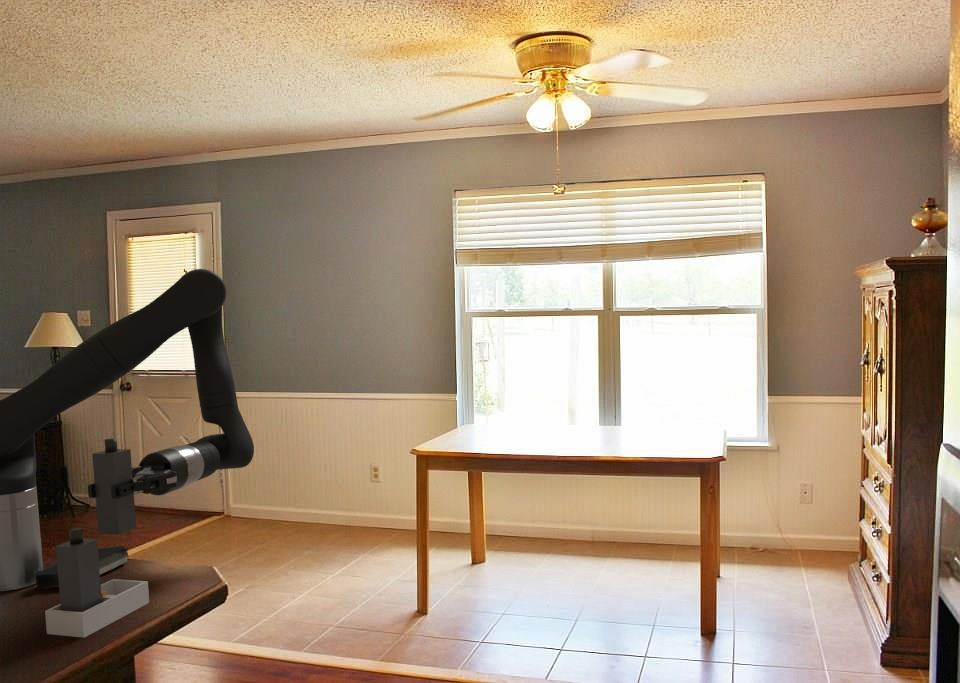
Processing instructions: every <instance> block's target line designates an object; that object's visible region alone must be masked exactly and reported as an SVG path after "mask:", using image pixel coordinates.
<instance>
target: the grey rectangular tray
mask: <svg viewBox="0 0 960 683" xmlns="http://www.w3.org/2000/svg"><path fill="white" fill-rule="evenodd" d="M149 593H150V592H149V581H145V580H135V579H134V580H132V579H121V578H120V579H119V578H112V579H110V580H108V581H106V582H103V583H102V584H101V595H102V603H100V604H98V605H96V606H94V607H92V608H90V609H88V610H86V611H84V612H73V611H61V603H59V604H57V605H55V606H53V607H50V608H48V609H46V610H45V611H44V613H45V614H44V615H45V627H46V635H54V636H63V637H64V636H65V637H75V638H83V639H84V638H86V637H88V636H90V635H92V634H94V633H95V632H98V631H99V630H101V629H102V628H105V627H107V626H108V625H111V624H113V623H114V622H116V621H118V620H120V619H122V618H124V617H125V616H127V615H129V614H131V613H133V612H134V611H137V610H138V609H141V608H142V607H144V606H146V605H147V604H149V603H150V595H149Z"/></svg>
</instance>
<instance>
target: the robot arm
mask: <svg viewBox="0 0 960 683" xmlns="http://www.w3.org/2000/svg"><path fill="white" fill-rule="evenodd" d="M226 298H227V287H226V284H225V282H224V280H223V279H222V277H221V276H220V275H219V274H217V273H216V272H214V271H212V270H209V269H206V268H197V269H196V268H195V269H192V270H189V271H187V272H185V273H184V274H183V275H182V276H181V277H180V278H179V279H178V280H177V281H175V282H174V284H172V285H171V286H170V287H168V289H166V290H165V291H163V293H161V294H160V295H159V296H158V297H156V298H155V299H154V300H153V301H151V302H149V303H148V304H146V305H145V306H143V307H142V308H140V309H138V310H136V311H134V312H132V313H130V314H128V315H126V316H124V317H122V318H120V319H119V320H117V321H115V322H113V323H111V324H108V326H106V327H104V328H102V329H100V330H98V331H97V332H96V333H94V334H93V335H92V336H90V337H88V338H87V339H85V340H83V341H82V342H80V343H79V344H78V345H76V346H75V347H73V349H71V350H70V351H69V352H67V353H66V354H65V355H63V356H62V357H61V358H59V359H58V360H57V361H56V362H55V363H53V364H52V365H51V366H50V367H49V368H48V369H46V370H45V371H44V372H43V373H42V374H41V375H39V377H37V378H36V379H35V380H33V381H32V382H30V383H28V384H27V385H26V386H24V387H22V388H20V389H19V390H17V391H15V392H13V393H12V394H10V395H8V396H6V397H4V398H2V399H0V592H6V591H7V592H8V591H14V590H19V589H23V588H26V587H27V588H28V587H30V586H32V585H35V584H36V576H35V573H37V572H40V571H42V570H44V564H43V563H44V562H43V553H42V552H43V550H42V538H41V527H40V515H39V502H38V492H37V490H38V489H37V478H36V477H37V476H36V475H37V453H36V439H35V434H36V433H37V432H38V431H40V430H41V429H42V428H43V427H44V426H46V425H47V424H49V422H51V421H52V420H54V419H55V418H56V417H57V416H59V415H61V414H62V413H63V412H66V411H67V410H68V409H70V408H73V407H75V406H76V405H79V404H80V403H82V402H83V401H86V400H87V399H89V398H92V397H93V396H94V395H96V394H98V393H99V392H101V391H103V390H104V389H106V388H107V387H110V386H111V385H112V384H114V383H115V382H117V381H119V379H121V378H123V377H124V376H125V375H127V374H128V373H130V372H131V371H133V370H134V369H135V368H136V367H138V366H140V365H141V363H142V362H144V361H145V360H146V359H147V358H149V357H150V356H151V355H152V354H154V353H155V352H156V351H157V350H158V349H159V348H160V347H161V346H163V344H164V343H165V342H167V341H169V339H170V338H172V337H174V336H175V335H176V334H178V333H179V332H181V331H183V330H185V329H188V334H189V338H190V344H191V348H192V354H193V362H194V364H193V365H194V372H195V373H194V374H195V380H196V389H197V394H198V402H199V406H200V407H199V408H200V414H201V417H202V420H203V421H204V422H205V423H209V424H211V425H212V424H213V425H215V426H218V427H220V429H221V430H222V432H223V433H216V434H210V435H206V436H203V437H201V438H199V439H197V440H195V441H193V442H190V443H187V444H183V445H175V446H171V447H168V448H165V449H162V450H157V451H155V452H151V453H148V454H146V455H145V456H144V457H143V458H142V459H141V460H140V462H139V464H138V465H137V466H135V465H134V466H132V476H133V478H132V479H131V480H127V481H124V482H121V483H118V484H114V485H112V486H111V495H112V498H113V499H118V498H121V497H124V496H127V495H130V494H134V496H135V495H136V496H137V495H139V494H144V495H145V494H146V495H149V494H151V495H153V496H164V495H166V494H168V493H172V492H174V491H177V490H180V489H183V488H186V487H188V486H190V485H191V484H192V485H193V483H195V482H198V481H201V480H202V479H203V480H204V479H206V478H207V477H210V476H211V475H213V474H214V473H215V472H216V471H218V470H231V469H241V468H242V469H243V468H245V467H247V466H249V464H250V463H251V462H252V460H253V458H254V454H255V446H254V440H253V438H252V435H251V434H250V431H249V429H248V427H247V425H246V422H245V420H244V419H243V418H244V417H243V416H242V414H241V412H240V409H239V405H238V399H237V398H238V397H237V392H236V386H235V380H234V376H233V371H232V367H231V363H230V360H229V355H228V352H227V347H226V343H225V338H224V330H223V329H224V328H223V305H224V304H225V302H226ZM87 495H88V496H87V497H88V498H89V499H96V491H95V483H90V484H88V485H87Z"/></svg>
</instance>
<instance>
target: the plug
mask: <svg viewBox="0 0 960 683" xmlns="http://www.w3.org/2000/svg"><path fill="white" fill-rule="evenodd" d="M117 440H118V439H117V438H116V437H113V438H105V439H104V449H105V450H100V451H98V452H94V453H91V456H92V468H93V482H94V483H95V491H96V498H95V507H96V508H95V509H96V518H97V519H96V520H97V531H98V534H99V535H116V536H117V535H118V536H119V535H121V534H124V533H127V532H129V531H131V530H134V529H137V520H136V519H137V518H136V507H135V495H134V494H130V495H127V496H124V497H121V498H118V499H113V498H112V495H111V486H112V485H114V484H118V483H121V482H124V481H127V480H131V479H132V478H133V476H132V467H133V466H132V454H131V448H118V441H117Z"/></svg>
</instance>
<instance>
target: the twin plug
mask: <svg viewBox="0 0 960 683" xmlns="http://www.w3.org/2000/svg"><path fill="white" fill-rule="evenodd" d="M68 533H69V540H68V541H66V542H63V543H61V544H58V545H55V552H56V565H57V566H58V579H59V587H58V588H59V591H58V592H59V601H60V603H59V604H61V611H73V612H84V611H86V610H88V609H90V608H92V607H94V606H96V605H98V604H100V603H102V595H101V575H100V570H99V557H98V549H99V548H98V539H94V538H84V536H83V534H84V533H83V528H81V527H77V528H72V529H69V530H68Z"/></svg>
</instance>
